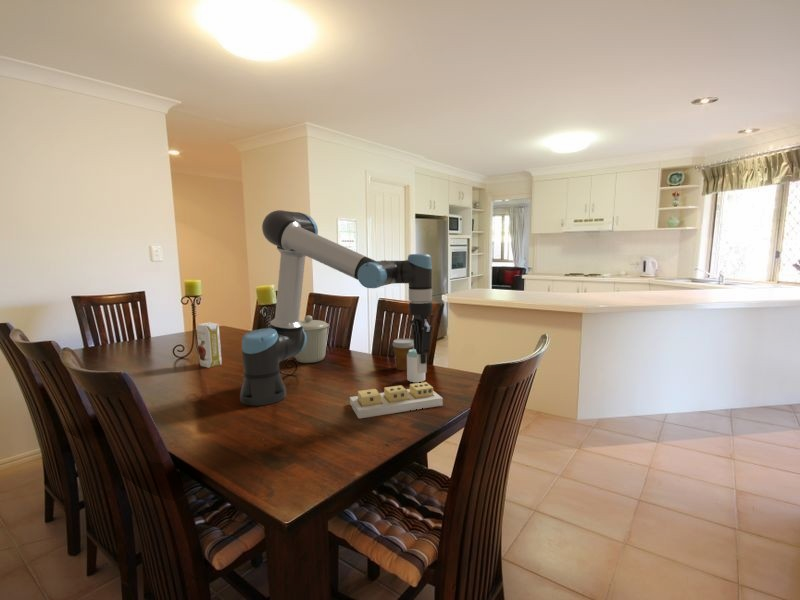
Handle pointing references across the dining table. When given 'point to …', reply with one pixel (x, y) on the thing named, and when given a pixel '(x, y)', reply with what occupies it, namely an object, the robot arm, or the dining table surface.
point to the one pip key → (369, 397)
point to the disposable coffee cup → (402, 352)
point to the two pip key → (395, 394)
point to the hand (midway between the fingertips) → (422, 372)
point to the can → (413, 368)
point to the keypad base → (395, 405)
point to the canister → (313, 341)
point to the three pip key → (421, 390)
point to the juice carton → (209, 344)
